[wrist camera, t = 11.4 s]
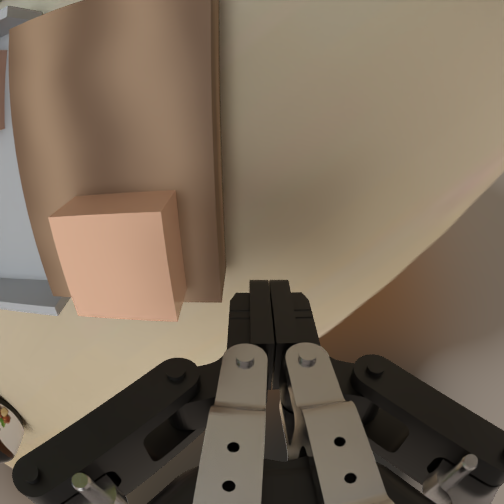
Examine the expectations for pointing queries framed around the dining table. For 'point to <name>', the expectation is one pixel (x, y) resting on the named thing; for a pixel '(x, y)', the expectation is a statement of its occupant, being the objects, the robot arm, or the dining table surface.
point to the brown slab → (122, 120)
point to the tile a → (2, 87)
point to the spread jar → (9, 431)
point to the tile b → (122, 254)
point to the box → (18, 212)
